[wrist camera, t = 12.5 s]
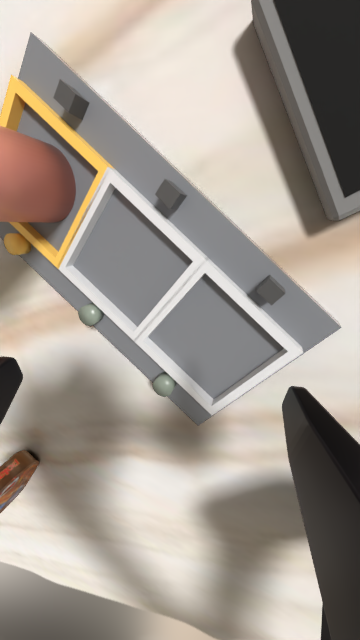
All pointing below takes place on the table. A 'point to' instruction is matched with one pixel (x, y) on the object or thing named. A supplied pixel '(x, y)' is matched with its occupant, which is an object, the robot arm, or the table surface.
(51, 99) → the breaker panel
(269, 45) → the electronic device
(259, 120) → the table surface
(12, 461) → the tin
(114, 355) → the table surface
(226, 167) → the table surface
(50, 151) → the reddish brown cylinder
